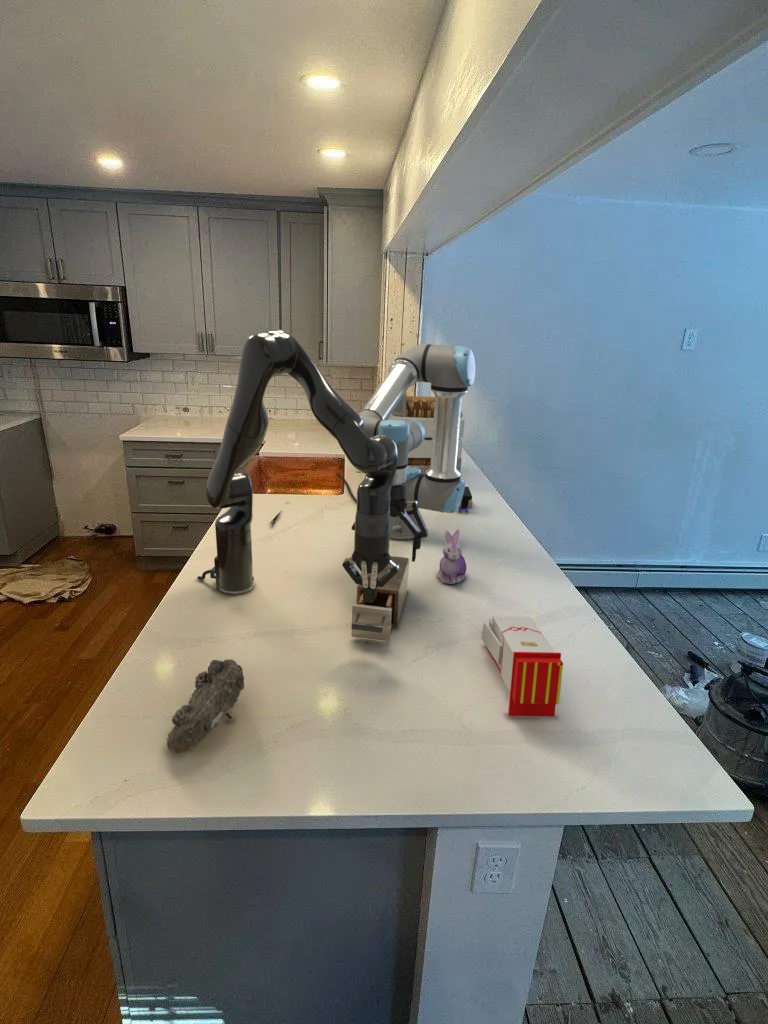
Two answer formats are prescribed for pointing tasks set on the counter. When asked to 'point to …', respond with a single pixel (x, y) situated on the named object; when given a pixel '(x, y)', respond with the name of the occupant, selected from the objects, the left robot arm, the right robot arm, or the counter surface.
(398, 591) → the cabinet
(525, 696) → the toy
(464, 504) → the figurine character
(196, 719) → the grey lumpy elongated piece
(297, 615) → the counter surface
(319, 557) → the counter surface
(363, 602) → the drawer
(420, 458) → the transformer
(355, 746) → the counter surface
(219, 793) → the counter surface
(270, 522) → the feather
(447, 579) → the figurine
